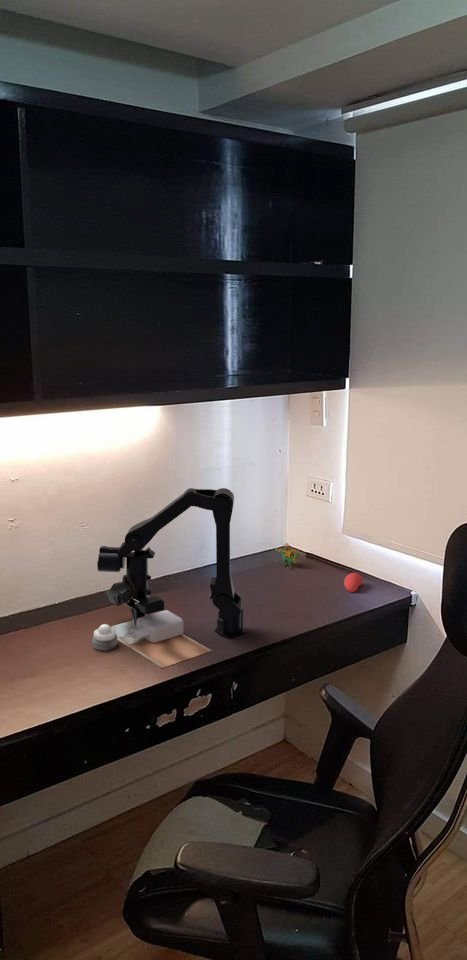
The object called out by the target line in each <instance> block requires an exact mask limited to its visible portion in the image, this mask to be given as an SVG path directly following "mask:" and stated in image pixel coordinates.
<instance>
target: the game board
mask: <svg viewBox="0 0 467 960" xmlns="http://www.w3.org/2000/svg"><path fill="white" fill-rule="evenodd" d="M110 627H111V628H113V629H115V631H116V637H115V638H114V639H113V640H110V641H97V640H95V639H94V635H93V636H92V648H93V649H94V650H96V651H110V650H114V649H116V648H117V647H118V642H120V643H121V644H123V645H125V646H126V647H128V648H129V649H131V650H133V651H134V652H136V653H137V654H139V655H140V656H142V657H143V658H145V659H147V660H148V661H149V662H150V663H152V664H154V665H156V667H157V666H158V667H159V668H160V669H164V668H167V667H171V666H173V665H175V664H178V663H182V662H184V661H187V660H190V659H193V658H196V657H199V656H202V655H204V654H208V653H210V652H211V653H212V651H213V650H212V649H211V648H209V647H207V646H204V645H203V644H202V643H199V642H197V641H196V640H194V639H192V638H191V637H189V636H187V635H185V634H184V633H183V634H182V635H179V636H176V637H172V638H169V639H166V640H163V641H159V642H156V643H153V642H150V641H148V640H147V639H145V638H140V639H136V640H135V639H134V638H132V637H129V638H128V636H130V634H128V635H124V634H126V633H128V629H131V628H135V627H136V626H135V623H134V620H133V619H132V620H129V621H125V622H122V623H118V624H115V625H112V626H111V625H110Z"/></svg>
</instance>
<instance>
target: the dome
mask: <svg viewBox="0 0 467 960" xmlns="http://www.w3.org/2000/svg"><path fill="white" fill-rule="evenodd" d="M93 636H94V639H95V640H97V641H110V640H113V639H114V638H115V637H116V631H115V629H113V628H111V625H109V624H107V623H103V624H101V625H100V626H99V627H98V628H97V629H95V630H94V631H93Z"/></svg>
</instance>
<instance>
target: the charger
mask: <svg viewBox="0 0 467 960" xmlns="http://www.w3.org/2000/svg"><path fill="white" fill-rule="evenodd" d="M128 634H130V636H128V638H129V637H132V638H134V639H135V640H136V639H140V638H145V639H147V640H148V641H150V642H153V643H156V642H159V641H163V640H166V639H169V638H172V637H176V636H179V635H182V634H183V635H184V620H183V619H182V617H179V616H178V615H177V614H175V613H173V612H171V611H170V610H167V609H166V610H165V609H164V610H161V611H158V612H154V613H151V614H146V615H145V616H143V617H140V618H138V619H137V621H136V627H135V628H131V629H128V633H126V634H124V635H128Z"/></svg>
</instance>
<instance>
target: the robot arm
mask: <svg viewBox="0 0 467 960" xmlns="http://www.w3.org/2000/svg"><path fill="white" fill-rule="evenodd" d="M234 503H235V495H234V492H232V490H230V489H228V488H225V487H222V488H218V489H212V488H210V489H209V488H207V489H206V488H202V489H201V488H200V489H198V488H193V487H190V488H187V489H186V490H185V491H184V492H183V493H181V495H179V496H178V497H177V498H175V499H174V500H173V501H171V502H170V503H168V504H167V505H166V506H165V507H164V508H162V509H161V510H159V511H158V512H157V513H155V514H154V515H153V516H151V517H150V518H147V519H145V520H142V521H140V522H138V523H136V524H134V525H132V526H131V527H130V528H129V529H128V531H127V533H126V534H125V537H124V542H122V543H121V545H120V546H119V547H117V546H114V547H112V546H106V545H100V547H99V551H98V557H97V559H98V560H97V562H96V563H97V565H96V566H97V571H98V572H102V573H103V572H105V573H120V572H121V571H122V570H123V569H125V568H126V572H125V573H126V574H123V576H122V579H121V580H122V581H119V582H114V583H113V584H112V585H111V587H110V588H109V589H108V590H106V596H107V597H108V599H109V602H110V603H111V604H113V605H115V606H116V607H119V606H121V605H123V604H125V605H126V606H127V607H128V609H129V611H130V614H131V617H132V620H134V623H135V626H136V621H137V619H138V618H140V617H143V616H146V615H150V614H154V613H158V612H161V611H165V609H166V602H165V601H164V600H163V599H162V598H160V597H158V596H156V595H153V596H150V595H151V594H152V590H151V589H149V581H150V580H152V575H150V574H149V571H148V570H149V567H148V566H149V563H148V562H149V561H148V559H154V557H155V554H156V552H155V551H153V550H152V549H151V548H150V546H148V547H147V548H146V549H144V548H145V547H146V546H147V545H148V544H149V543H150V541H152V539H153V538H154V537H155V536H156V535H157V533H158V532H159V531H160V530H162V529H163V528H164V527H166V526H167V525H169V524H170V523H171V522H172V521H174V520H175V519H176V518H178V517H179V516H181V514H183V513H185V512H186V511H187V510H189V509H190V508H191V507H195V508H199V509H203V510H207V511H212V515H213V519H214V523H215V530H216V531H215V535H216V536H215V538H216V540H215V541H216V542H215V547H216V549H215V551H216V552H215V553H216V555H215V556H216V558H215V559H216V560H215V561H216V566H215V567H216V576H215V577H214V576H211V577H210V581H209V588H210V589H209V590H210V595H209V600H211V602H212V605H213V606H214V607H215V608H216V609H218V614H217V618H216V628H214V632H216V633H217V634H220V635H221V636H223V637H225V638H227V639H232V638H235V637H238V636H241V635H244V634H247V630H246V629H244V609H242V605H243V601H242V599H243V598H242V597H241V596H240V595H239V594H238V593H237V592H236V591H235V586H234V581H233V578H232V577H233V576H232V574H231V520H232V515H233V508H234ZM125 565H126V567H125Z"/></svg>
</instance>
